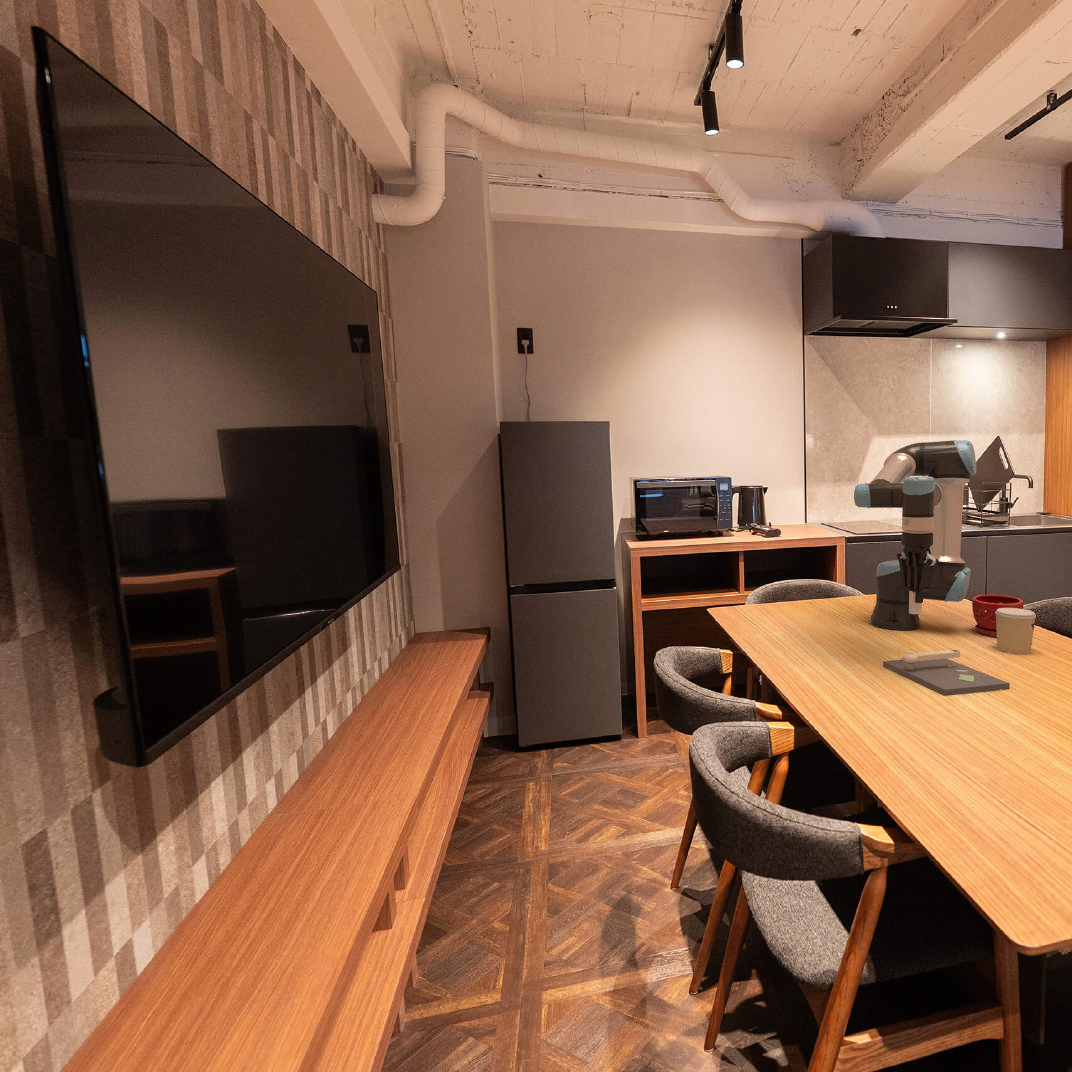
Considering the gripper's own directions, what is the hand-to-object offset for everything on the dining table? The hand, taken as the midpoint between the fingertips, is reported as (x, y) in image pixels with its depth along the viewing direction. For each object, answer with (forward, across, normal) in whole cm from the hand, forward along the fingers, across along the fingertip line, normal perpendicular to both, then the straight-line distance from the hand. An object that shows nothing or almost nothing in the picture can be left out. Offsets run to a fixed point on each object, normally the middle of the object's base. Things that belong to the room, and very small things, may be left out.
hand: (915, 613), depth 164 cm
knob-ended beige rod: (+11, +7, 0) cm, 13 cm away
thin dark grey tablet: (+15, +10, 0) cm, 18 cm away
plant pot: (+15, -19, +45) cm, 52 cm away
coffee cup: (+15, -4, +36) cm, 40 cm away
